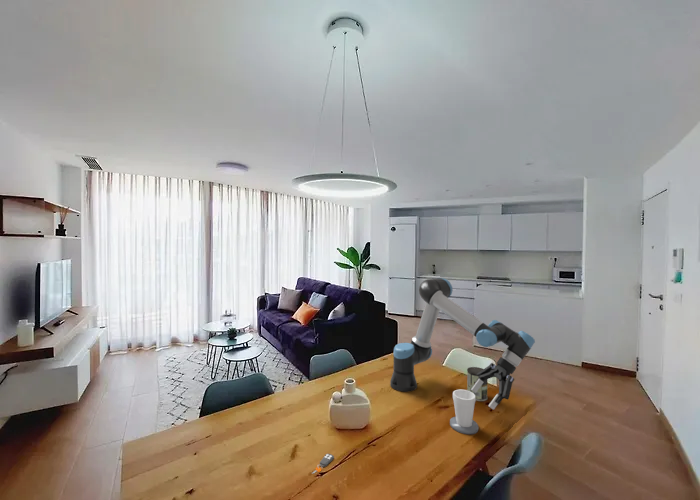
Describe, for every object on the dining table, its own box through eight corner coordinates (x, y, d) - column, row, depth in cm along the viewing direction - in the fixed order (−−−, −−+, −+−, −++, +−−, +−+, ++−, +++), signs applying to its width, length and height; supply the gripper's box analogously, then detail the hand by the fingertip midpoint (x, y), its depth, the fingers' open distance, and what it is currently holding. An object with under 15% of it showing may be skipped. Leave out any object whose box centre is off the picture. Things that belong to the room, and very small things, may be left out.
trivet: (452, 432, 132) (452, 429, 132) (447, 417, 144) (447, 414, 144) (481, 435, 130) (481, 432, 130) (474, 420, 142) (474, 417, 142)
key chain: (326, 455, 118) (326, 451, 118) (334, 458, 116) (334, 454, 116) (306, 478, 106) (306, 473, 106) (315, 481, 104) (315, 477, 104)
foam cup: (474, 419, 140) (474, 391, 140) (476, 431, 131) (476, 401, 131) (452, 415, 143) (452, 388, 143) (453, 427, 134) (452, 397, 134)
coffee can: (482, 392, 170) (483, 366, 170) (490, 401, 159) (491, 374, 159) (464, 391, 170) (464, 366, 170) (471, 401, 160) (471, 374, 159)
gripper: (534, 379, 129) (505, 420, 129) (497, 355, 154) (472, 389, 153) (523, 370, 128) (493, 411, 127) (486, 346, 153) (461, 381, 152)
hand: (481, 399), depth 140 cm, fingers open, 13 cm apart
